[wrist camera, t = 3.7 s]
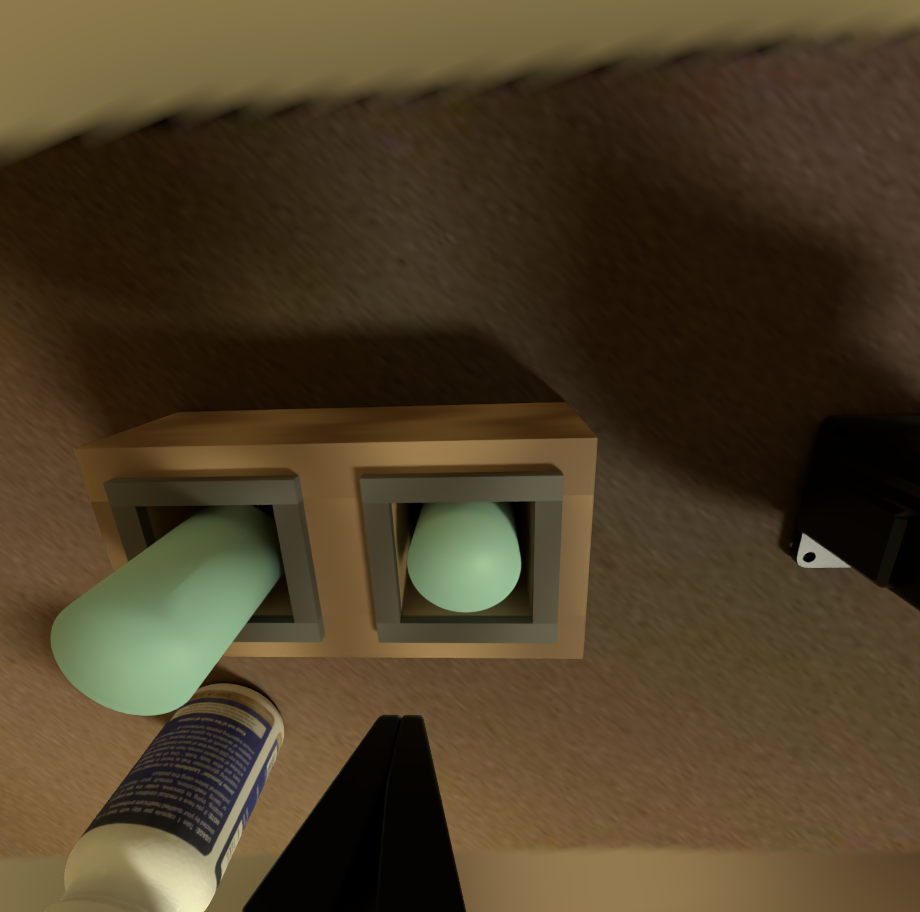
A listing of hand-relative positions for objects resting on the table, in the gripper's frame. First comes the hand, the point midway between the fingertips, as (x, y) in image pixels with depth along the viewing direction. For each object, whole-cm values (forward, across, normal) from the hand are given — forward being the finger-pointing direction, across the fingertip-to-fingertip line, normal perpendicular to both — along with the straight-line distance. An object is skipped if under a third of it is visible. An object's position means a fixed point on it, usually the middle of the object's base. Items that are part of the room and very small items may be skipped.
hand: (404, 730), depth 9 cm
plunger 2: (+11, -1, 0) cm, 11 cm away
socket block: (+11, +3, 0) cm, 11 cm away
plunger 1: (+7, +7, 0) cm, 10 cm away
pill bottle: (+11, +12, +13) cm, 21 cm away
